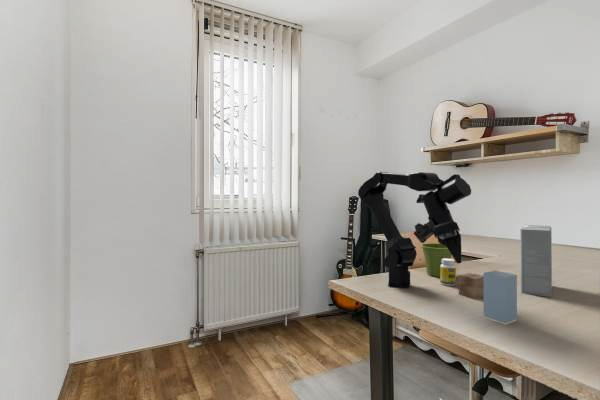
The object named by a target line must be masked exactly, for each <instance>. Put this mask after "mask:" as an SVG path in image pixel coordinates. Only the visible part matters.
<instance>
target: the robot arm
mask: <svg viewBox="0 0 600 400" xmlns="http://www.w3.org/2000/svg"><path fill="white" fill-rule="evenodd" d="M388 184H389V185H390V184H391V185H397V186H404V187H407V188H408V189H411V190H414V191H416V192H426V193H425V194H423V193H421V194H419V195H418V196H417V199H416V201H415V202H416V204H423V205H424V208H425V210H426V213H427V214H428V215H427V216H428V217H427V218H428V222H426V223H424V224H423V223H419V222H418V223H416V225H414V229H415V231H413V235H414V236H415V238H416V239H417V240H418V241H419V242H420V243H421V244H424V243H425V242H427V240H428V239H429V238H430V237H432V236H434V238H435V239H437V242H438V243H439V244H440V245H443V246H445V247H447V248H448V250H449V251H450V253H451V254H452V255H451V257H452V259H454V260H455V263H457V264H462V261H463V260H462V236H461V234H460V231H461V230H460V227H459V224H458V223H457V222H456V221H455V220H454V219H453V216H452V214H451V211H450V209H449V207H448V205H453V204H455V203H457V202H459V201H461V200H463V199H465V198H467V197H470V195H471V194H472V189H471V186H470V184H469V183H468V182H467V181H466V180H465V179H463V178H462V177H461V175H460V174H456V173H455V174H453V175H451V176H450V177H449V178H447V179H445V180H443V179H440V177H439V176H438V174H437V173H435V172H423V171H422V172H412V173H408V174H404V173H395V172H393V173H392V172H388V171H377V172H376V173H375V174H374V175H373V176H372V177H370V178H369V179H367V180H366V181H365V182H363V184H362V185H360V187H359V188H358V192H357V194H358V197H359V199H360V200H361V202H362V203H363V204H364V205H366V206H367V207H368V208H370V210H371V212H372V215H374V218H375V219H376V221H377V224H378V225H379V227H380V230H381V232H382V233H383V235H384V237H385V239H386V241H387V246H386V247H387V248H386V249H387V253H388V254H387V256H385V257H384V259H383V261H382V262H383V267H386V268H387V269H388V284H387V285H388V287H395V288H405V289H407V288H410V286H411V271H410V270H409V267H413V265H414V263H415V261H416V259H417V247H416V246H415V245H414V244H413V241H412V239H411V238H410V237H404V236H403V235H402V234H401V233H400V231H399V229H398V226H396V224H395V222H394V220H393V218H392V216H391V214H390V213H389V211H388V208H387V207H386V206H385V203H384V199H385V198H384V197H385V195H384V193H385V192H386V190H387V186H388Z"/></svg>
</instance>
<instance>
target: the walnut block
mask: <svg viewBox="0 0 600 400" xmlns="http://www.w3.org/2000/svg"><path fill="white" fill-rule="evenodd" d="M476 274H477V273H470V272H468V273H467V272H466V273H462V274H458V295H459V296H462V297H466V298H469V299H472V300H476V299H477V300H478V299H481V298H484V276H480V275H476Z"/></svg>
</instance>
